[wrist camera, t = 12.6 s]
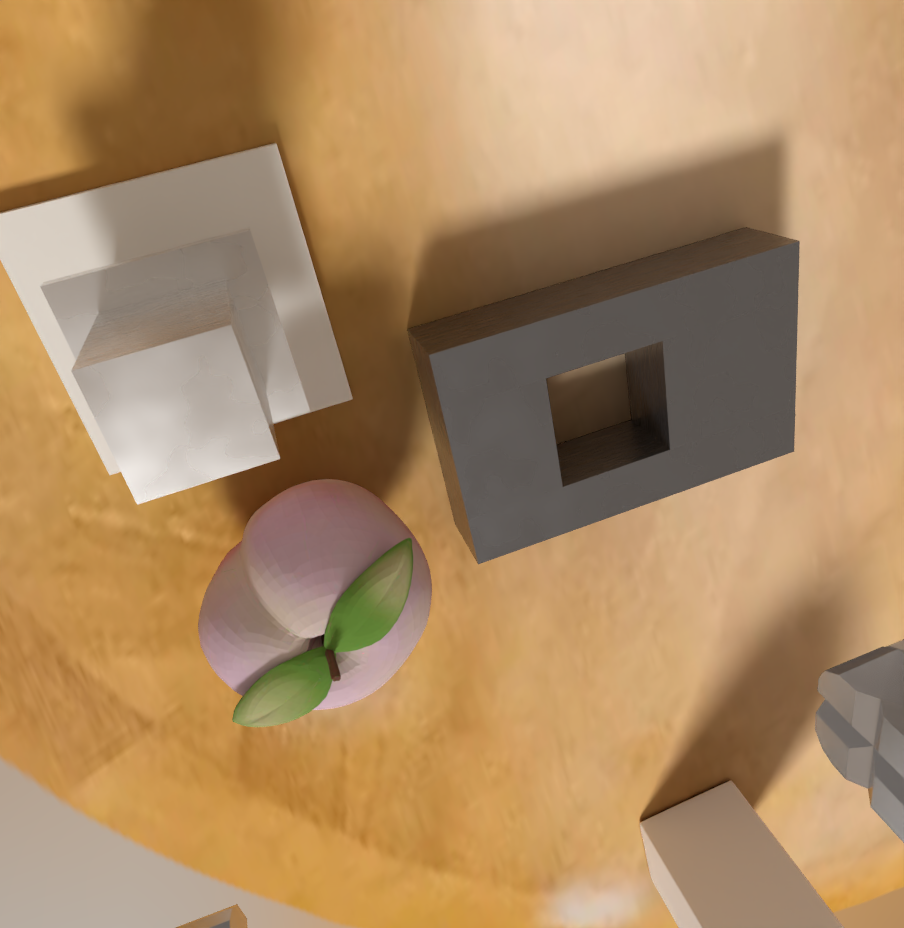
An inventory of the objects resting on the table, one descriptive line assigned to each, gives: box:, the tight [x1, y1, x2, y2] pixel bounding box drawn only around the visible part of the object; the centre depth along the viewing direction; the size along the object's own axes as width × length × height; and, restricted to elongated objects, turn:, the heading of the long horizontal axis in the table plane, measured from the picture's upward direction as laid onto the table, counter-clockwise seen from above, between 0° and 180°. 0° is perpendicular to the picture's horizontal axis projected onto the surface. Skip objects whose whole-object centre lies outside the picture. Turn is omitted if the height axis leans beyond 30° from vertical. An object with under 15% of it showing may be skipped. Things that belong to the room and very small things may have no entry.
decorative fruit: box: [198, 479, 432, 727], centre depth 30 cm, size 9×8×10 cm
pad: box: [0, 143, 353, 475], centre depth 28 cm, size 10×10×1 cm
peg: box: [40, 227, 310, 504], centre depth 24 cm, size 6×6×10 cm
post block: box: [407, 227, 799, 564], centre depth 33 cm, size 10×16×4 cm, turn 102°
